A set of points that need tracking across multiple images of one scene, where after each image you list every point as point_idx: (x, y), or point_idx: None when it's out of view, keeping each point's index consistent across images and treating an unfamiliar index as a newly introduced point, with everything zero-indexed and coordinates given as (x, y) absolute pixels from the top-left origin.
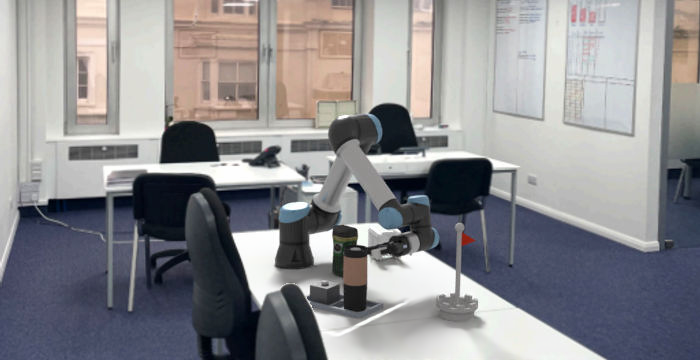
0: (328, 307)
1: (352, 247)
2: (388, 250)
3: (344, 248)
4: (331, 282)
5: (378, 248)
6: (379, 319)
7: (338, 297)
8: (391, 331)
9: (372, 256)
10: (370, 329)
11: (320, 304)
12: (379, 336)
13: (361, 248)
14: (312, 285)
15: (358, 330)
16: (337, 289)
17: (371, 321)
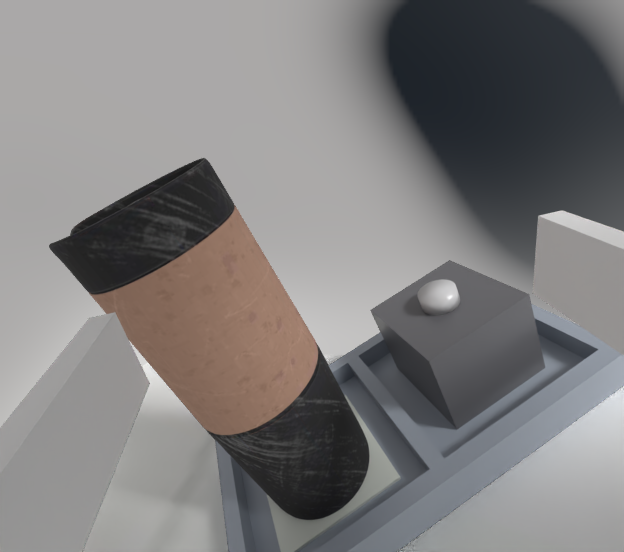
0: (346, 357)
1: (197, 189)
2: None
3: (179, 169)
4: (468, 327)
5: (53, 391)
6: (196, 549)
7: (442, 405)
8: (97, 532)
9: (134, 369)
10: (165, 467)
11: (378, 334)
12: (115, 473)
13: (134, 230)
14: (440, 267)
15: (188, 430)
16: (423, 368)
17: (206, 502)
